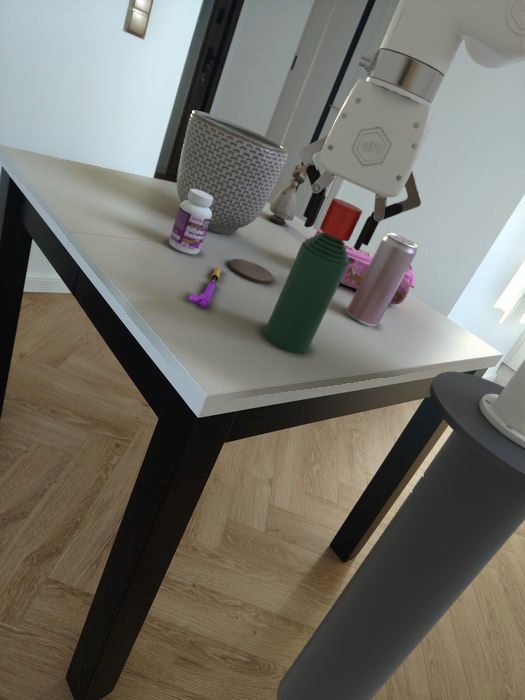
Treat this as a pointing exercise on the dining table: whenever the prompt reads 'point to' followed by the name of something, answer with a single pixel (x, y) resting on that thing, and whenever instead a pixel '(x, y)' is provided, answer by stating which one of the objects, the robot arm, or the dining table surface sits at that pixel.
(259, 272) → the coaster
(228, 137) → the planter
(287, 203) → the figurine
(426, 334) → the dining table surface
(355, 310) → the beverage can
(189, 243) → the pill bottle
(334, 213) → the cap
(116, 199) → the dining table surface
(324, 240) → the bottle
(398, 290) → the pencil case
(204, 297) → the purple tool
